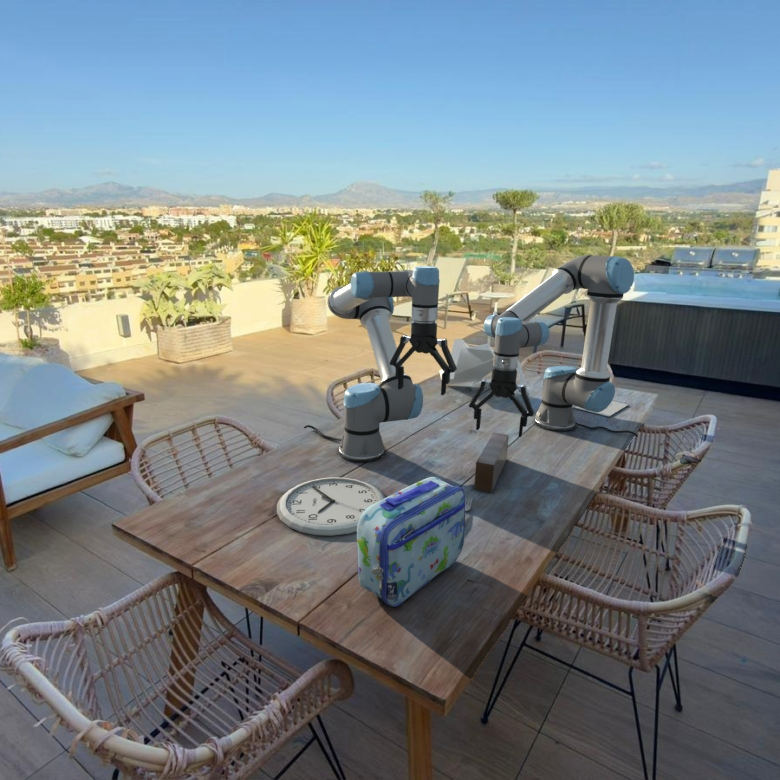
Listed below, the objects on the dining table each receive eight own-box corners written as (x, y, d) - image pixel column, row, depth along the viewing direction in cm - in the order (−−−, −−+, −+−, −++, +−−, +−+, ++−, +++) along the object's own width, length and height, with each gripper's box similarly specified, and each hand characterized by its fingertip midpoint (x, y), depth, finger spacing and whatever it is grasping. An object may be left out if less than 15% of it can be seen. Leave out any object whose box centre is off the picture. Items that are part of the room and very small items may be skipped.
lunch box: (386, 620, 101) (388, 525, 95) (350, 593, 108) (349, 503, 102) (468, 563, 119) (474, 480, 112) (432, 543, 126) (436, 464, 120)
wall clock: (392, 527, 129) (268, 531, 127) (391, 533, 130) (269, 537, 127) (383, 473, 158) (282, 475, 155) (383, 478, 158) (282, 480, 156)
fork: (449, 531, 131) (450, 524, 131) (463, 501, 146) (463, 495, 145) (459, 533, 130) (460, 526, 130) (472, 503, 145) (473, 496, 144)
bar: (491, 456, 175) (493, 432, 172) (506, 459, 173) (508, 434, 170) (474, 489, 153) (476, 461, 150) (491, 492, 151) (494, 464, 148)
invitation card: (608, 416, 214) (573, 407, 224) (608, 416, 214) (573, 408, 224) (628, 404, 229) (594, 396, 238) (628, 405, 229) (594, 397, 238)
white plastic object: (461, 429, 252) (437, 405, 227) (444, 352, 274) (420, 323, 250) (535, 404, 240) (518, 377, 215) (510, 326, 262) (492, 293, 237)
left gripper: (379, 319, 153) (378, 389, 159) (463, 327, 144) (458, 400, 150) (389, 316, 159) (388, 382, 166) (469, 322, 151) (465, 392, 157)
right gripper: (462, 366, 163) (458, 429, 169) (545, 375, 154) (537, 442, 160) (468, 360, 169) (463, 422, 176) (547, 370, 161) (540, 434, 167)
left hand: (421, 391), depth 158 cm, fingers open, 13 cm apart
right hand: (498, 432), depth 168 cm, fingers open, 13 cm apart
